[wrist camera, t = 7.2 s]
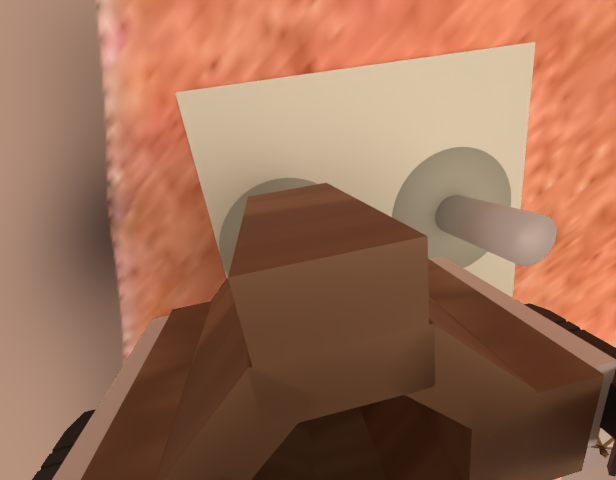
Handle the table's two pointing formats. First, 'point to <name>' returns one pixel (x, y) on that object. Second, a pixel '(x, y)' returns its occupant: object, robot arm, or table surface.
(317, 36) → the table surface
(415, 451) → the walnut gear
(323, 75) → the board
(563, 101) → the table surface
